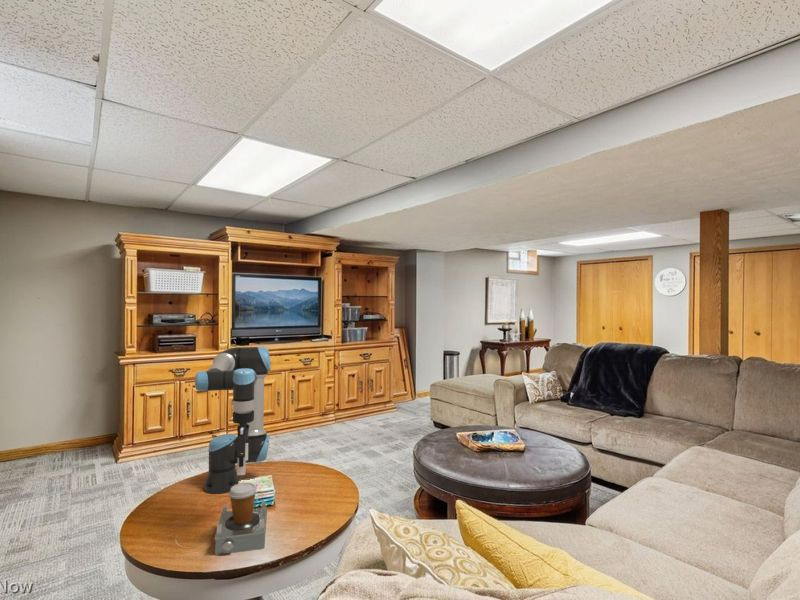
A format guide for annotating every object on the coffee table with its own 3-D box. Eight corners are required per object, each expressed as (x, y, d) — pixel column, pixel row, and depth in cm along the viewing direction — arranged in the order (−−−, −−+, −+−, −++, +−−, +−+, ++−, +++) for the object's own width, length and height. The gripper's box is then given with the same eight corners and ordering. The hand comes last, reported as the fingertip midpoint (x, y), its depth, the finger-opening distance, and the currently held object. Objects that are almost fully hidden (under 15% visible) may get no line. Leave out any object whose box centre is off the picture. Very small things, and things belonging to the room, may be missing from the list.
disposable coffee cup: (255, 525, 153) (255, 491, 153) (227, 528, 150) (227, 494, 150) (257, 512, 162) (257, 480, 162) (230, 515, 160) (230, 483, 160)
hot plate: (221, 527, 163) (221, 504, 163) (267, 522, 167) (267, 499, 167) (213, 557, 144) (214, 530, 144) (265, 550, 149) (265, 524, 149)
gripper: (236, 402, 170) (235, 455, 171) (228, 421, 146) (228, 482, 147) (255, 401, 172) (255, 454, 173) (252, 419, 148) (251, 480, 149)
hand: (242, 467), depth 160 cm, fingers open, 13 cm apart
